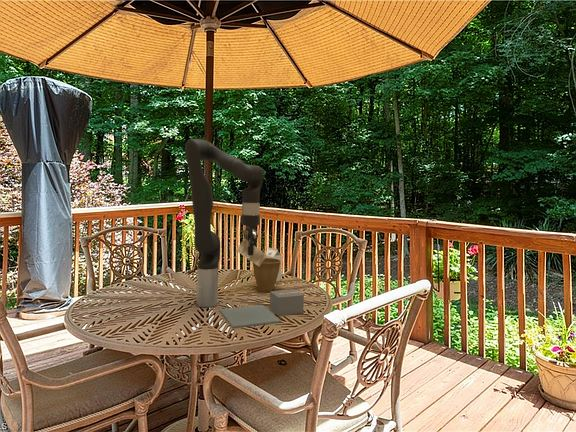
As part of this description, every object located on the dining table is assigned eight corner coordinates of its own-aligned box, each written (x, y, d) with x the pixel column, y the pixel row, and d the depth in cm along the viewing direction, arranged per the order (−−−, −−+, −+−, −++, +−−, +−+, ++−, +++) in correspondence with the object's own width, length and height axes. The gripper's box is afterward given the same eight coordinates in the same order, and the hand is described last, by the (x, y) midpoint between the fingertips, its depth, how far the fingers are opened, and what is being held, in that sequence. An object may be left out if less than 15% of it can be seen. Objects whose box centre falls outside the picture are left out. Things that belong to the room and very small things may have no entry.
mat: (232, 328, 158) (232, 326, 158) (219, 311, 178) (219, 309, 178) (280, 322, 166) (280, 320, 166) (262, 306, 186) (262, 304, 186)
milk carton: (271, 278, 238) (272, 246, 237) (280, 280, 234) (281, 248, 232) (263, 280, 233) (264, 248, 231) (272, 283, 228) (273, 249, 227)
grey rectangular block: (277, 315, 174) (278, 296, 173) (269, 308, 183) (270, 290, 182) (303, 312, 178) (303, 293, 178) (294, 306, 188) (294, 287, 187)
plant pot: (279, 294, 206) (280, 263, 205) (250, 293, 207) (250, 262, 205) (280, 286, 221) (281, 257, 220) (253, 285, 222) (253, 257, 220)
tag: (259, 266, 171) (237, 251, 166) (257, 266, 172) (236, 250, 168) (267, 255, 172) (245, 239, 167) (266, 254, 173) (244, 238, 169)
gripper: (237, 212, 173) (236, 252, 174) (246, 215, 160) (246, 258, 162) (254, 212, 176) (253, 251, 177) (264, 214, 163) (263, 257, 165)
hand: (249, 254), depth 170 cm, fingers closed on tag, 1 cm apart
